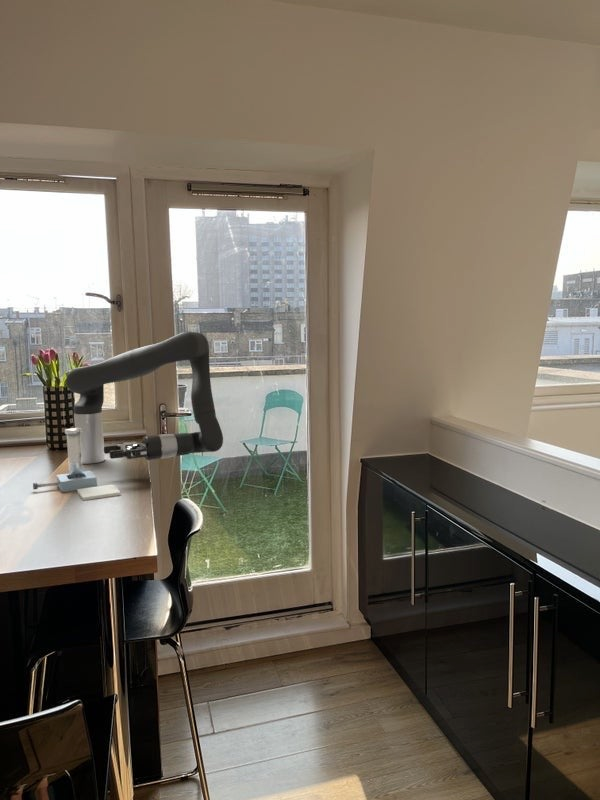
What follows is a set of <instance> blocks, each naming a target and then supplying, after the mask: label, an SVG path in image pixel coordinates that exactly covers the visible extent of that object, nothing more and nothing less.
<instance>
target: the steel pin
mask: <svg viewBox="0 0 600 800" xmlns="http://www.w3.org/2000/svg"><path fill="white" fill-rule="evenodd" d="M81 432H82V429H81V428H75V427H72V428H71V427H70V428H66V429H64V434H65V435H66V445H67V459H68V463H67V464H68V473H69V478H70V479H73V478H81V477H83V472H84V471H83V470H84V469H83V464H82V451H81V435H80V433H81Z"/></svg>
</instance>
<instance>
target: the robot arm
mask: <svg viewBox="0 0 600 800" xmlns="http://www.w3.org/2000/svg"><path fill="white" fill-rule="evenodd" d="M182 361H189V364H190V368H191V373H192V383H191V391H190V392H191V394H190V397H191V399H190V400H191V407H192V413H193V418H194V421H195V423H196V424H197V425H198V426H199V431H195V432H194V431H193V432H189V433H188V432H180V433H163V434H154V435H145V436H143V438H142V442H141V443H139V442H138V441H126V442H117V443H116V444H114V445H105V442H104V424H103V422H104V421H103V413H102V412H103V405H104V399H105V398H104V397H105V396H104V393H105V392H104V390H105V387H104V385H106V384H112V383H119V382H125V381H129V380H130V381H131V380H134V379H137V378H140V377H144V376H147V375H149V374H152V373H153V372H155V371H157V370H158V369H159V368H161V367H163V366H165V365H167V364H171V363H177V362H182ZM210 370H211V369H210V346H209V341H208V338H207V337H206V336H205V334H203V333H200V332H195V331H183V332H181V333H177V334H176V335H174V336H171V337H170V338H167V339H165V340H162V341H160V342H158V343H153V344H150V345H149V344H148V345H145V346H142V347H137V348H134V349H131V350H127V351H125V352H123V353H120V354H118V355H115V356H112V357H110V358H107V359H106V360H104V361H103V360H102V361H101V362H98V363H95V364H90V365H86V366H85V365H84V366H80V367H79V366H78V367H75V368H73V369H72V370H70V371H69V372H68V374H67V376H66V379H65V383H66V386H67V388H68V389H69V390H70V391H71V392H73V393H75V394H77V395H78V394H79V399H78V401H77V402H76V403H75V404H74V405H73V418H74V428H81V429H82V432H81V433H80V435H81V451H82V465H83V464H84V465H87V464H96V463H101V462H105V454H107V455H108V454H109V458H110V459H112V460H113V459H120V458H121V459H122V458H123V459H127V460H132V459H138V458H144V459H145V460H146V461H153V460H161V459H169V458H172V457H179V456H186V455H190V454H198V453H215V452H218V451H219V450H220V449H221V448H222V447H223V444H224V435H223V431H222V428H221V425H220V423H219V420H218V418H217V415H216V408H215V403H214V397H213V391H212V385H211V371H210Z"/></svg>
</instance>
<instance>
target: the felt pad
mask: <svg viewBox="0 0 600 800" xmlns="http://www.w3.org/2000/svg"><path fill="white" fill-rule="evenodd" d="M76 492H77V494H78V495H79V497H80V498H81V499H82V501H88V500H89V501H90V500H95V499H101V498H102V499H104V498H108V497H116V496H121V495H122V493H121V491H120V490H119V489H118V488H117V487H116V486H115V484H106V485H97V487H90V488H82V489H77V490H76Z"/></svg>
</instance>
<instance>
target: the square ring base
mask: <svg viewBox="0 0 600 800" xmlns="http://www.w3.org/2000/svg"><path fill="white" fill-rule="evenodd" d="M55 477H56V481H51V482H45V483H43V482H42V483H37V482H33V483H32V489H33V490H38V488H43V487H51V486H57V487H58V489H59V490H60V492H61V493H64V492H65V493H67V492H73V491H77V489H82V488H90V487H97V486H98V480H97V479H98V478H97V476H96V474H94V473H93V472H92V471H91V470H87V471H86V470H85V471H83V477H81V478H73V479H70V478H69V472H68V473H61V474H60V473H59V474H56V476H55Z"/></svg>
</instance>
